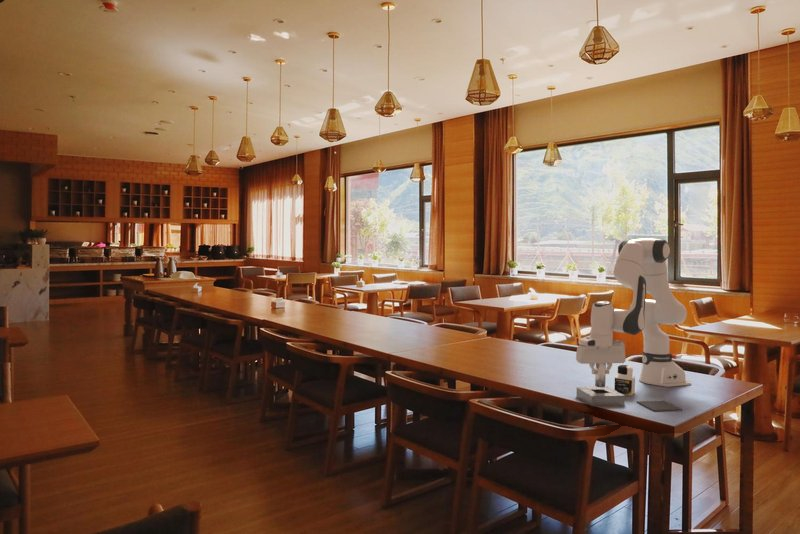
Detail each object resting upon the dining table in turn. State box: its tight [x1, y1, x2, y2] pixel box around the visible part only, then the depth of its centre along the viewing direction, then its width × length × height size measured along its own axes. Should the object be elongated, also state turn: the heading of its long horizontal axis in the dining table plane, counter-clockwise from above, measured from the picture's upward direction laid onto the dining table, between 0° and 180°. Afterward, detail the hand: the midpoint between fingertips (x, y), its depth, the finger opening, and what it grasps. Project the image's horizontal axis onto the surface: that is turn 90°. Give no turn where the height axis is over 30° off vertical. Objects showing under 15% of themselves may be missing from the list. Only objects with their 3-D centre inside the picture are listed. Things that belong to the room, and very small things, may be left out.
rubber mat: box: [636, 400, 683, 412], centre depth 223 cm, size 12×12×1 cm
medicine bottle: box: [613, 364, 636, 397], centre depth 243 cm, size 7×7×12 cm
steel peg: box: [594, 363, 607, 387], centre depth 230 cm, size 4×4×10 cm
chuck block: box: [576, 386, 626, 407], centre depth 230 cm, size 14×14×4 cm
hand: (600, 373), depth 230 cm, fingers closed on steel peg, 4 cm apart
